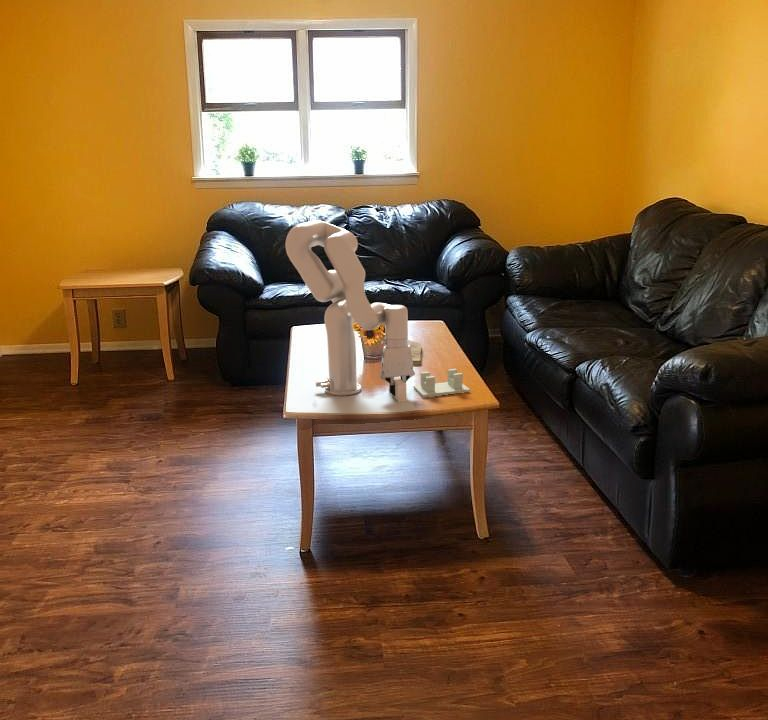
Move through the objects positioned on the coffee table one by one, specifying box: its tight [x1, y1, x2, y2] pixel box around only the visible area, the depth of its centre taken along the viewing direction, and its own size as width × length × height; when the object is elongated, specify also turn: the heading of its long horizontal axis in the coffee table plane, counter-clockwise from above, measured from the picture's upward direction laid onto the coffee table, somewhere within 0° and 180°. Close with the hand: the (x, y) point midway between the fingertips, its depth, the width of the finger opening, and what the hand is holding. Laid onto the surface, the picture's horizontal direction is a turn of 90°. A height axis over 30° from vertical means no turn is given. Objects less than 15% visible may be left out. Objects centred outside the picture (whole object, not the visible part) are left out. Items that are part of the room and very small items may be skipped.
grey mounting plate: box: [412, 368, 471, 399], centre depth 261 cm, size 17×10×6 cm, turn 106°
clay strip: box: [388, 376, 407, 403], centre depth 257 cm, size 12×2×6 cm, turn 17°
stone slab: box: [408, 339, 422, 366], centre depth 305 cm, size 12×4×30 cm
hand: (397, 394), depth 258 cm, fingers closed on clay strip, 2 cm apart
